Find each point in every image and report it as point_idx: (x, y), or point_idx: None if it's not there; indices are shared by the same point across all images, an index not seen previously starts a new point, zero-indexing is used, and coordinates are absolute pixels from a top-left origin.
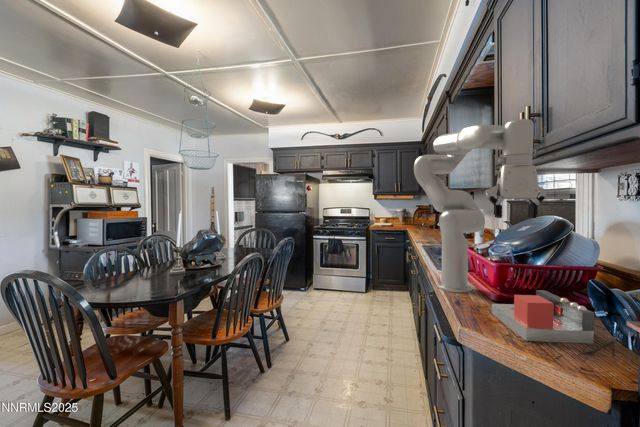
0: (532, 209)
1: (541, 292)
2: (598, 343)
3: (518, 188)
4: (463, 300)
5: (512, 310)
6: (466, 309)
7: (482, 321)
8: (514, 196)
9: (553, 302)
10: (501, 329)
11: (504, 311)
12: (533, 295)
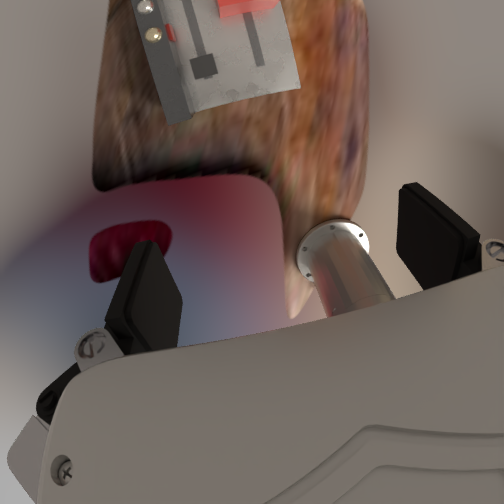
0: (148, 300)
1: (183, 99)
2: None
3: (448, 478)
4: (335, 167)
5: (264, 49)
6: (342, 104)
7: (324, 38)
8: (446, 300)
9: (172, 50)
10: (294, 5)
11: (284, 38)
12: (232, 3)
